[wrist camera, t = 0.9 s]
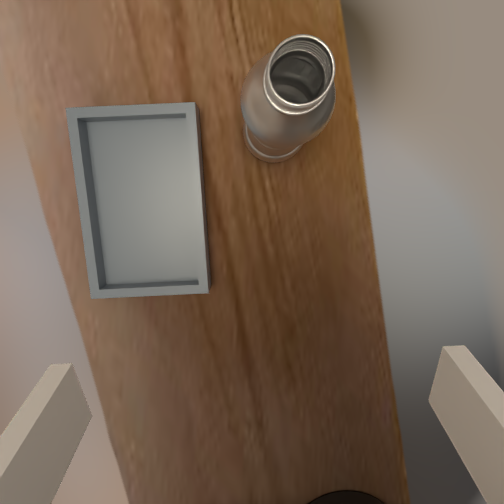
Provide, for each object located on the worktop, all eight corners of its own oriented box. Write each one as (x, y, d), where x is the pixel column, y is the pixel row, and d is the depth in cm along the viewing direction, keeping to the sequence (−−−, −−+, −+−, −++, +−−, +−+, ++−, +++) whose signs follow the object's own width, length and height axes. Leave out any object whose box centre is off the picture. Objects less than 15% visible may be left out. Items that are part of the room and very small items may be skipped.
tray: (211, 285, 40) (208, 293, 37) (102, 291, 40) (91, 298, 37) (198, 109, 37) (194, 102, 34) (80, 114, 37) (65, 107, 34)
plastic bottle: (313, 144, 38) (386, 91, 18) (261, 176, 38) (277, 158, 19) (284, 91, 37) (328, -26, 17) (231, 124, 37) (214, 48, 18)
